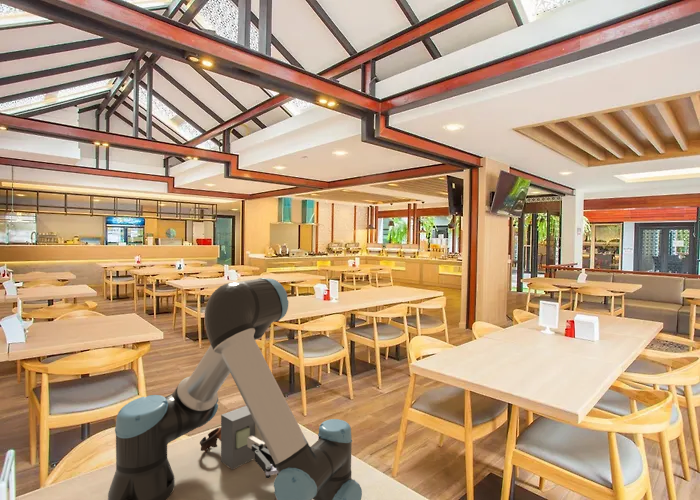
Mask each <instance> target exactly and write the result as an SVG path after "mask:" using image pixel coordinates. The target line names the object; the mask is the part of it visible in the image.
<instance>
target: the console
mask: <svg viewBox="0 0 700 500" xmlns="http://www.w3.org/2000/svg"><path fill="white" fill-rule="evenodd" d="M220 420H221V421H220V427H221V441H220V463H222V464H224V465H225V466H226V467H228V468H230V470H234V469H237V468H238V467H240V466H242V465H244V464H247V463H248V462H251V461H253V460H255V453H254V452H253V451H252V449H251V448H249V447H247V445H245V446H242V447H240V448H238V449H237V448H236V431H238V430H240V429H243V428H245V427H248V428H250V436H251V435H252V436H254V437H255V422H254V420H253V418H252V416H251V414H250V412H249V410H248V408H247V406H246V405H244V406H242V407H239V408H236V409H233V410H231V411H228V412H225V413H222V414H220Z"/></svg>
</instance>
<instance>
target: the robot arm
mask: <svg viewBox="0 0 700 500" xmlns="http://www.w3.org/2000/svg"><path fill="white" fill-rule="evenodd" d="M288 299H289V298H288V293H287V291H286V289H285V287H284V286H283V284H281V283H280V281H278V280H276V279H274V278H270V277H268V278H265V277H260V278H256V279H248V280H242V281H234V282H228V283H224V284H222V285H220V286H219V287H217V288H216V289H215V290H214V291H213V292H212V293H211V295H210V297H209V298H208V300H207V302H206V306H205V309H204V327H205V328H204V329H205V332H206V336H207V339H208V342H209V343H210V345H209V347H208V348H207V350H206V351H205V352H204V355H203V356H202V358H201V359H200V361H199V362H198V364H197V366H196V367H195V369H194V370H193V371H192V373H191V375H190V376H189V375H188V376H187V377H185V378H182V380H180V382H179V384H178V385H177V387H175V390H174V391H173V392H172V393H171V394H169V395H165V396H164V395H160V394H152V395H151V394H150V395H147V396H141V397H137V398H136V399H133V400H131V401H129V402H128V403H127V404H125V405H123V407H122V408H120V410H119V411H118V412H117V415H116V418H115V419H116V420H115V427H114V432H115V472H114V475H113V478H112V480H111V484H110V487H109V489H108V493H107V500H167V499H168V498H169V497H170V496H171V495H172V493H173V492H174V490H175V485H176V484H175V483H176V482H175V481H176V479H175V475H174V472H173V469H172V467H171V464H170V461H169V459H168V444H170V443H171V442H173V441H175V440H177V439H179V438H181V437H182V436H184V435H186V434H188V433H190V432H192V431H194V430H195V429H198V428H201V427H202V426H204V425H206V424H207V423H208V422H210V421H211V420H212V419H214V417H215V415H216V414H217V413H218V409H219V404H218V402H219V394H218V391H219V390H220V388H221V387H222V386H223V384H224V382H225V381H226V380H227V378H228V377H229V375H231V378H232V379H233V381H234V384H235V385H236V387H237V390H238V391H239V393H240V395H241V397H242V399H243V401H244V404H245V406H247V408H248V410H249V412H250V414H251V416H252V418H253V420H254V422H255V424H256V426H257V428H258V430H259V432H260V434H261V436H262V438H263V440H264V441H263V440H259V439H257V438H256V437H254V436H252V435H251V436H249V437H247V447H249V448H251V449H252V451H253V452H254V453H255V459H254V462H255V463H256V464H257V465H258V466H259V468H260V469H261V470H262V472H263V473H264V474H265V478H266V479H267V480H268V479H271V476H272V475H276V477H275V479H274V481H273V488H274V492H273V493H274V496H275V498H276V500H362V496H363V490H362V487H361V484H360V483H359V482H357V481H356V480H355V479H352V449H353V448H352V443H353V440H352V428H351V425H350V424H349V423H348V422H347V421H346V420H343V419H338V418H331V419H327V420H324V421H322V422H321V423H320V425H319V428H318V434H317V436H318V439H317V441H315V442H314V443H313V444H312V445H310V444H309V442H308V441H307V438H306V437H305V435H304V433H303V431H302V429H301V427H300V425H299V423H298V421H297V419H296V417H295V415H294V413H293V411H292V409H291V408H290V406H289V404H288V402H287V399H286V398H285V396H284V394H283V392H282V390H281V388H280V386H279V384H278V382H277V380H276V378H275V376H274V375H273V372H272V370H271V369H270V366H269V364H268V363H267V360H266V359H265V356H264V355H263V353H262V351H261V349H260V347H259V345H258V343H257V341H256V340H259V339H261V338H262V337H263V336H264V334H266V332H267V330H268V329H269V327H270V326H271V324H273V323H275V322H279V321H281V320H282V319H283V318H284V317H285V316H286V315H287V312H288V311H289V300H288Z"/></svg>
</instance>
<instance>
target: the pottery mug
mask: <svg viewBox="0 0 700 500" xmlns="http://www.w3.org/2000/svg"><path fill="white" fill-rule="evenodd" d="M207 436H208V437H206V436H203V438H202V439H201V440H200V441H199V445H200V446H201V447H200V451H202V452H205V453H208V450H209V449H210V448H217V447H218V444H217V443H218V440H219V441H220V442H221V426H220V427H216V428H215V429H213V430H212V431H210V432H209V433H207Z"/></svg>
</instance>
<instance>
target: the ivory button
mask: <svg viewBox="0 0 700 500" xmlns="http://www.w3.org/2000/svg"><path fill="white" fill-rule="evenodd" d="M255 437H256V438H257V439H259V440H263V438H262V436H261V434H260V432H259V430H258V428H257V426H256V424H255ZM263 441H264V440H263Z"/></svg>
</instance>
